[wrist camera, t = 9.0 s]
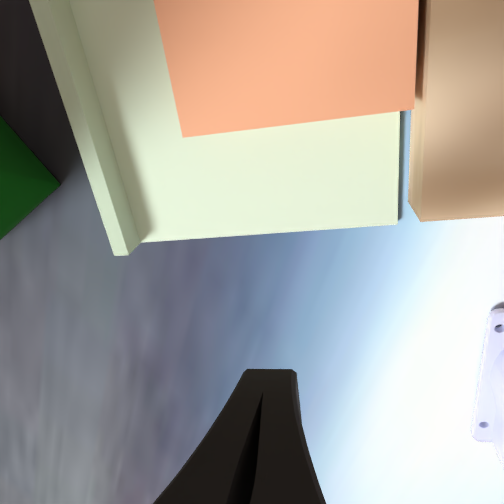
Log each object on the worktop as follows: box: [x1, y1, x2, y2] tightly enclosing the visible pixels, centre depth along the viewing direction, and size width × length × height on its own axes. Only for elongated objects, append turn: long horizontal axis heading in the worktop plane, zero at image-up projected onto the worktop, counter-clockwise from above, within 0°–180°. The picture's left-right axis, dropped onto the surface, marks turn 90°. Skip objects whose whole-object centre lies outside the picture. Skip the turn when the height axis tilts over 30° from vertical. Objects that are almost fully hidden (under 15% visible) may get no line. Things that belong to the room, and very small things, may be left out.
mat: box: [29, 0, 400, 256], centre depth 16 cm, size 16×14×2 cm
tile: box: [153, 0, 419, 138], centre depth 15 cm, size 6×9×2 cm, turn 98°
